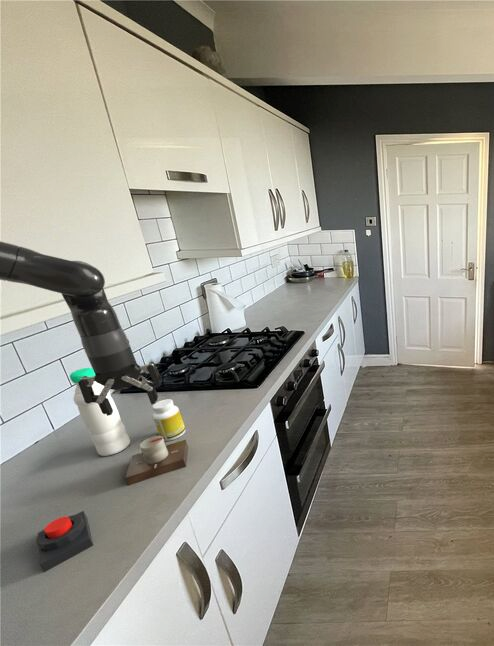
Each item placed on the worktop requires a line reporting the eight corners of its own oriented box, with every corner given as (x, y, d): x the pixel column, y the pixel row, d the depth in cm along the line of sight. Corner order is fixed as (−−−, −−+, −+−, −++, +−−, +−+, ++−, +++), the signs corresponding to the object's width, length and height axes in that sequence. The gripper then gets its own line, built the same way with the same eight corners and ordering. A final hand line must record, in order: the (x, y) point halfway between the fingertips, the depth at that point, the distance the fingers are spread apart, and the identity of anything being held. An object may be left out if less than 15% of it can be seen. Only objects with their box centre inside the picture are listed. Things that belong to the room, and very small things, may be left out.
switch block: (42, 540, 72) (33, 526, 71) (87, 517, 77) (80, 504, 76) (44, 572, 66) (35, 557, 65) (93, 545, 71) (86, 531, 70)
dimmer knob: (144, 466, 88) (137, 449, 86) (147, 455, 92) (140, 438, 90) (167, 459, 90) (161, 442, 88) (169, 448, 94) (163, 432, 92)
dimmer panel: (128, 485, 86) (124, 477, 85) (135, 463, 93) (131, 455, 92) (186, 466, 91) (183, 458, 90) (188, 446, 98) (185, 438, 98)
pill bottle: (190, 427, 107) (180, 396, 103) (178, 441, 101) (166, 409, 97) (169, 428, 106) (158, 398, 102) (156, 442, 100) (143, 410, 96)
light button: (47, 531, 70) (43, 525, 70) (71, 519, 73) (68, 513, 72) (48, 542, 68) (44, 536, 67) (73, 529, 71) (70, 523, 70)
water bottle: (117, 456, 95) (82, 377, 86) (91, 457, 95) (54, 378, 86) (137, 439, 102) (106, 364, 93) (113, 440, 102) (80, 364, 93)
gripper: (60, 363, 73) (90, 426, 79) (144, 346, 80) (166, 406, 86) (72, 350, 79) (99, 409, 85) (149, 336, 86) (169, 392, 92)
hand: (132, 408), depth 85 cm, fingers open, 8 cm apart
